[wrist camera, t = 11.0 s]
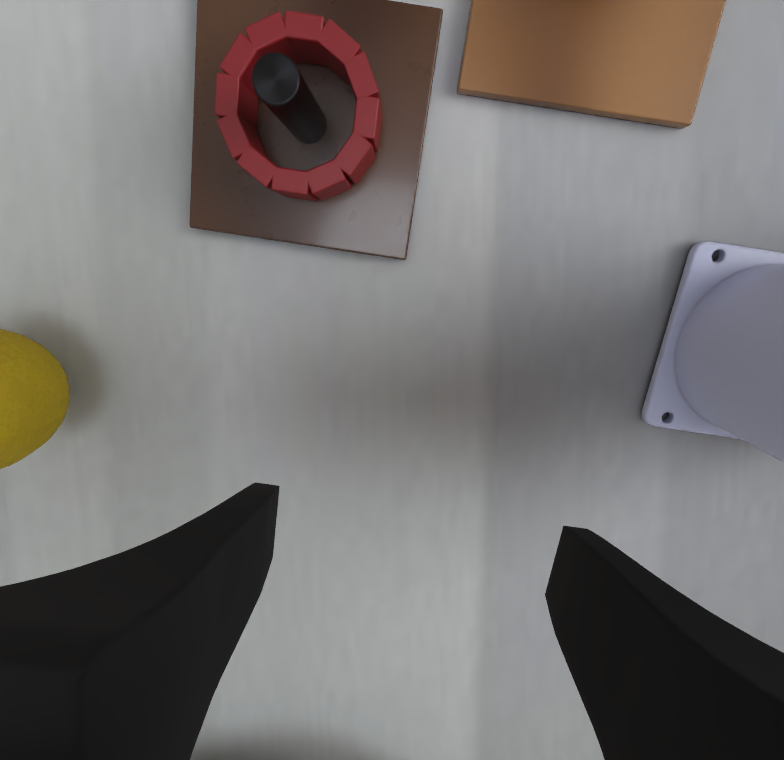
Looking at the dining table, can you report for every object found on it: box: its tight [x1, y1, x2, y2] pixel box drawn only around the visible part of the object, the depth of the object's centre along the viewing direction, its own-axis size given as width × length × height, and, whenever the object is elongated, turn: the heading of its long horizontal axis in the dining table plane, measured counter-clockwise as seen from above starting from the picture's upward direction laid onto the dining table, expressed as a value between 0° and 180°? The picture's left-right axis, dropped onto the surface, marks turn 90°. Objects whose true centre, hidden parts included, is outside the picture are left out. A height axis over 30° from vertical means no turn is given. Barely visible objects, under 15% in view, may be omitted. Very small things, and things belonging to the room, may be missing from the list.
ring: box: [215, 10, 382, 201], centre depth 17 cm, size 6×6×2 cm
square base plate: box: [190, 0, 443, 260], centre depth 16 cm, size 9×9×6 cm
